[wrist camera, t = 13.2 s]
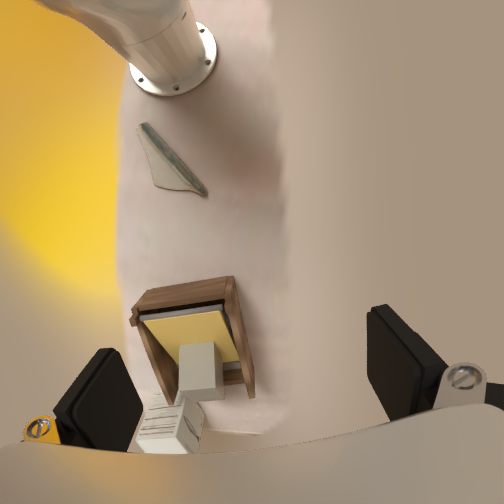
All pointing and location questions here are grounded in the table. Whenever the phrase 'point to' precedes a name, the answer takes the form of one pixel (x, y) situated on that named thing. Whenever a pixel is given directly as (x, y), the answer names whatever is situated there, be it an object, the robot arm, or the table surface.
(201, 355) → the plain grey carton
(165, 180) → the ceramic fragment
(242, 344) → the trapdoor frame
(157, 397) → the supplement box
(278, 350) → the table surface
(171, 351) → the trapdoor
